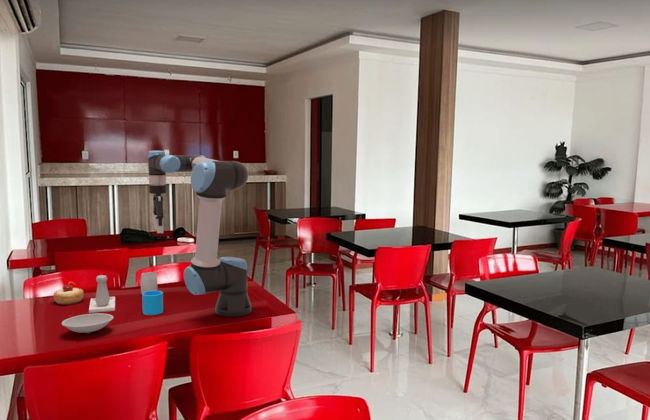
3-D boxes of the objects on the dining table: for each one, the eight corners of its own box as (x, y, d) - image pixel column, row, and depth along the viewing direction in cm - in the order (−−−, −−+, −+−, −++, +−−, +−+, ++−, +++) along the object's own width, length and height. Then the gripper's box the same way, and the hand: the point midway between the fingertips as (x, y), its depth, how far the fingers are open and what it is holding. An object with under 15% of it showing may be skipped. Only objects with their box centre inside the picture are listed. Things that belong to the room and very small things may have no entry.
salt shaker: (105, 302, 231) (104, 273, 230) (112, 305, 228) (111, 275, 226) (92, 305, 227) (91, 275, 225) (99, 308, 223) (98, 278, 222)
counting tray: (114, 310, 221) (114, 307, 221) (88, 313, 218) (88, 309, 218) (115, 299, 237) (115, 296, 237) (90, 301, 233) (90, 298, 233)
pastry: (47, 305, 229) (46, 285, 228) (69, 297, 241) (67, 278, 239) (69, 307, 226) (67, 287, 224) (90, 299, 237) (88, 280, 236)
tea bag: (157, 293, 249) (157, 272, 248) (142, 295, 245) (142, 274, 244) (155, 291, 252) (155, 271, 251) (141, 293, 248) (140, 272, 247)
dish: (110, 323, 206) (110, 311, 205) (116, 334, 194) (116, 321, 193) (60, 330, 197) (60, 317, 197) (63, 343, 185) (63, 329, 184)
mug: (163, 314, 218) (163, 295, 218) (142, 315, 216) (142, 296, 215) (162, 305, 230) (161, 287, 229) (142, 307, 227) (141, 289, 226)
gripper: (146, 183, 248) (147, 227, 251) (151, 186, 226) (152, 235, 228) (163, 182, 251) (164, 226, 254) (169, 186, 228) (170, 234, 231)
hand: (158, 230), depth 241 cm, fingers open, 13 cm apart
